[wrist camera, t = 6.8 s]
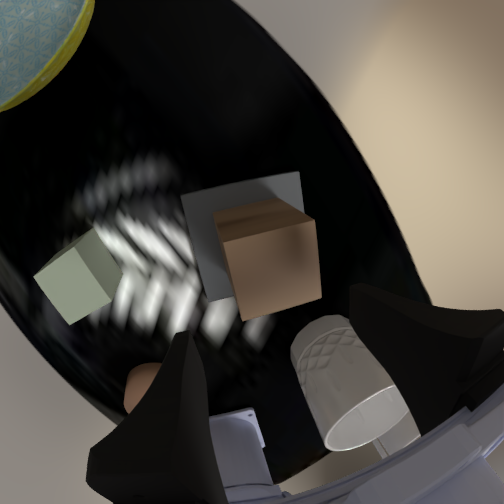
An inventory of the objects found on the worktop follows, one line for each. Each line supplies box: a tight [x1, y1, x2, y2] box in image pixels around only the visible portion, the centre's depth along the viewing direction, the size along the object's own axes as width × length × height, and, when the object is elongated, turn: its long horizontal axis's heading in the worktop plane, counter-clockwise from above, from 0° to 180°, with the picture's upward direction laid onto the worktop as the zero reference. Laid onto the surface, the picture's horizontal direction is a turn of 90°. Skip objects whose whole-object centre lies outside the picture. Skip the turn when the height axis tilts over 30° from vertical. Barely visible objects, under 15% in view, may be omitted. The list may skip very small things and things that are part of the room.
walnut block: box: [213, 198, 322, 321], centre depth 17 cm, size 4×4×6 cm
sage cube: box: [34, 227, 123, 325], centre depth 17 cm, size 4×4×4 cm
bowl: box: [0, 0, 95, 112], centre depth 9 cm, size 11×12×6 cm
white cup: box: [291, 315, 409, 451], centre depth 21 cm, size 8×8×10 cm
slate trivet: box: [181, 171, 304, 302], centre depth 20 cm, size 8×8×1 cm
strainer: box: [372, 411, 420, 459], centre depth 23 cm, size 7×7×15 cm
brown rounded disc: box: [124, 363, 162, 413], centre depth 22 cm, size 6×6×3 cm
